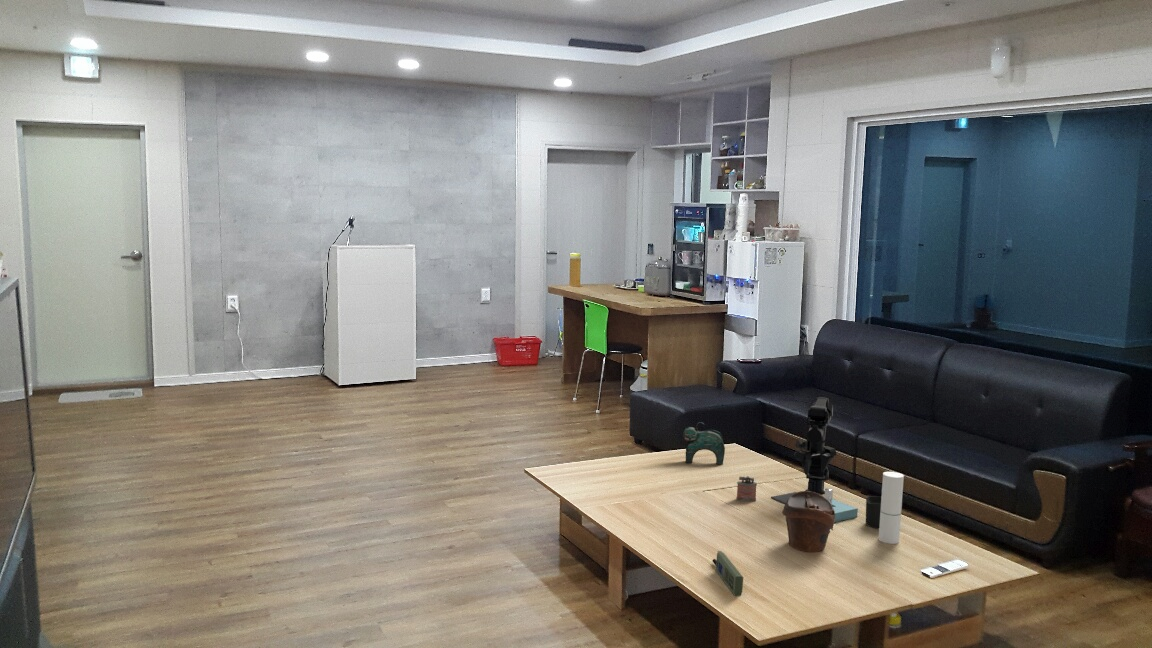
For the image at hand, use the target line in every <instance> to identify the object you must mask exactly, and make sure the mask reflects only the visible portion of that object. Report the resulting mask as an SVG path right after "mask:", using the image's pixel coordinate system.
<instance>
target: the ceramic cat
mask: <svg viewBox="0 0 1152 648" xmlns="http://www.w3.org/2000/svg"><path fill="white" fill-rule="evenodd" d="M698 424H703V425H705V423H704V422H702V421H701V422H700V421H699V422H697V424H696V425H698ZM682 433H683V434H682V437H683V439H684V440H685V441H686V442H687V443H686V444H685V445H686V446H685V464H692V463H693V462H694V457H695V454H696V453H697V452H700V451H702V450H703V451H705V450H706V451H710V452H712V453H713V454H714V456H715V463H716V465H717V466H723V465H724V459H725V453H726V447H725V444H724V441H723V440H724V437H723V435H722V433H721V432H720V431H717V430H715V429H707V430H703V431H701V430H699V429H698V428H695V427H692V426H688V425H687V426H685V429H684V431H683V432H682Z"/></svg>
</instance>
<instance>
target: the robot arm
mask: <svg viewBox="0 0 1152 648" xmlns="http://www.w3.org/2000/svg"><path fill="white" fill-rule="evenodd" d="M807 410H808V411H807V418H806V419H807V420H806V425H808V426H809V430H808V431H807V435H806V437H807V438H806V440H805V441H803V440H802V439H800V440H795V448H796V449H798V450H796V451H795V452H794V459H797V461H799V462H800V463H801V465H802V468H803V472H804V475H805V476H806V477H805V479H807V480H808V482H807V489H805V490H804V491H811V492H815V493H817V494H820V495H822V494H823V495H825V482H826V481H828V480H829V475H830V474H829V469H828V466H829V464H830V462H831V461H832V459H834V458H835V457H836V456H837V450H836V448H834V447H830V446H828V445H825V444H826V441H827V440H826V432H827V426H828V425H829V423H830V422H831V419H832V417H833V416H834V415H833V413H834V405H833V404H832V403H831V402H830V400H829V398H827V397H816V399H815V401H814V402H813V403H812V405H811V406H810V408H808V409H807Z"/></svg>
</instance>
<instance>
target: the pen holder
mask: <svg viewBox="0 0 1152 648" xmlns="http://www.w3.org/2000/svg"><path fill="white" fill-rule="evenodd" d="M880 511H881V496H877V495H872V496H871V495H870V496H866V499H865V524H866V526H867V527H870V528H874V529H878V530H879V525H880Z"/></svg>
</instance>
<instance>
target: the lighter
mask: <svg viewBox="0 0 1152 648" xmlns="http://www.w3.org/2000/svg"><path fill="white" fill-rule="evenodd" d="M738 479H739V480H738V481H737V482H736V485H737V487H736V488H737V489H736V501H740V502H741V501H742V502H756V501H757V498H756V497H757V485H758V483H757V482H755V477H752V476H751V477H750V476H739V477H738Z"/></svg>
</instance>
